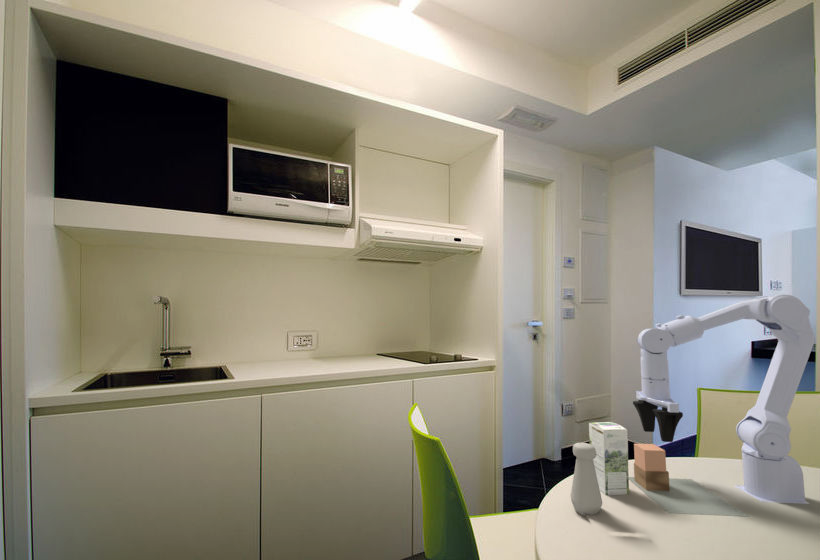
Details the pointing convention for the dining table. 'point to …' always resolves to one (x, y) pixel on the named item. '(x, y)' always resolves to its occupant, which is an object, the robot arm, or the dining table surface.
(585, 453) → the salt shaker
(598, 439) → the syrup box
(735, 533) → the dining table surface
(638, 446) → the terracotta cube
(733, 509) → the slate board
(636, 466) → the walnut block
